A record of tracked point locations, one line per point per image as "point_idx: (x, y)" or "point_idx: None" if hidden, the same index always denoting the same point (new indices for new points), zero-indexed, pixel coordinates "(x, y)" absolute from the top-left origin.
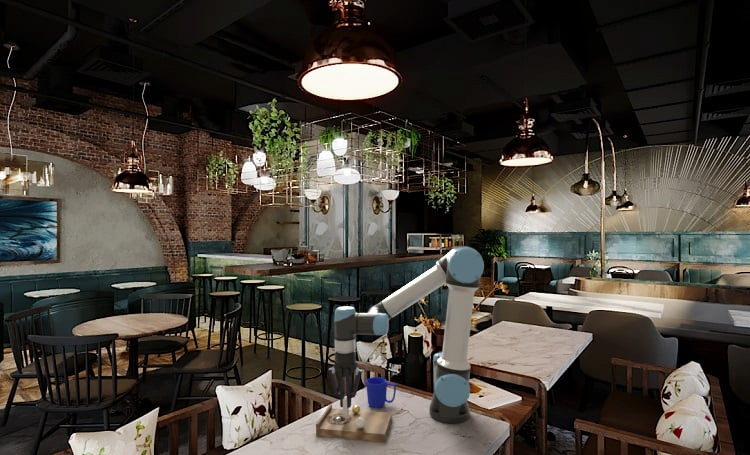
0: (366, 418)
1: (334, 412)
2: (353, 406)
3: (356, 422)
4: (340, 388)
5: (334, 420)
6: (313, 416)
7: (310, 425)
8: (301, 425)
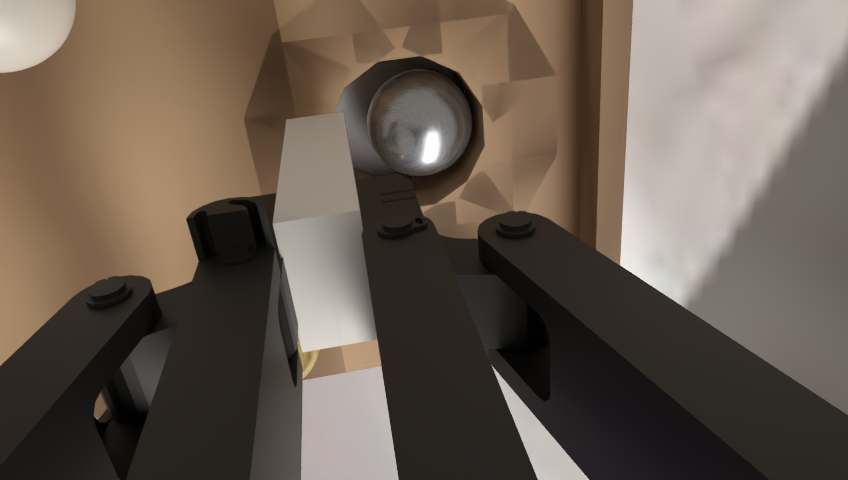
0: (92, 252)
1: None
2: (300, 354)
3: None
4: (451, 335)
5: (454, 92)
6: (718, 214)
7: (703, 32)
8: (796, 3)
